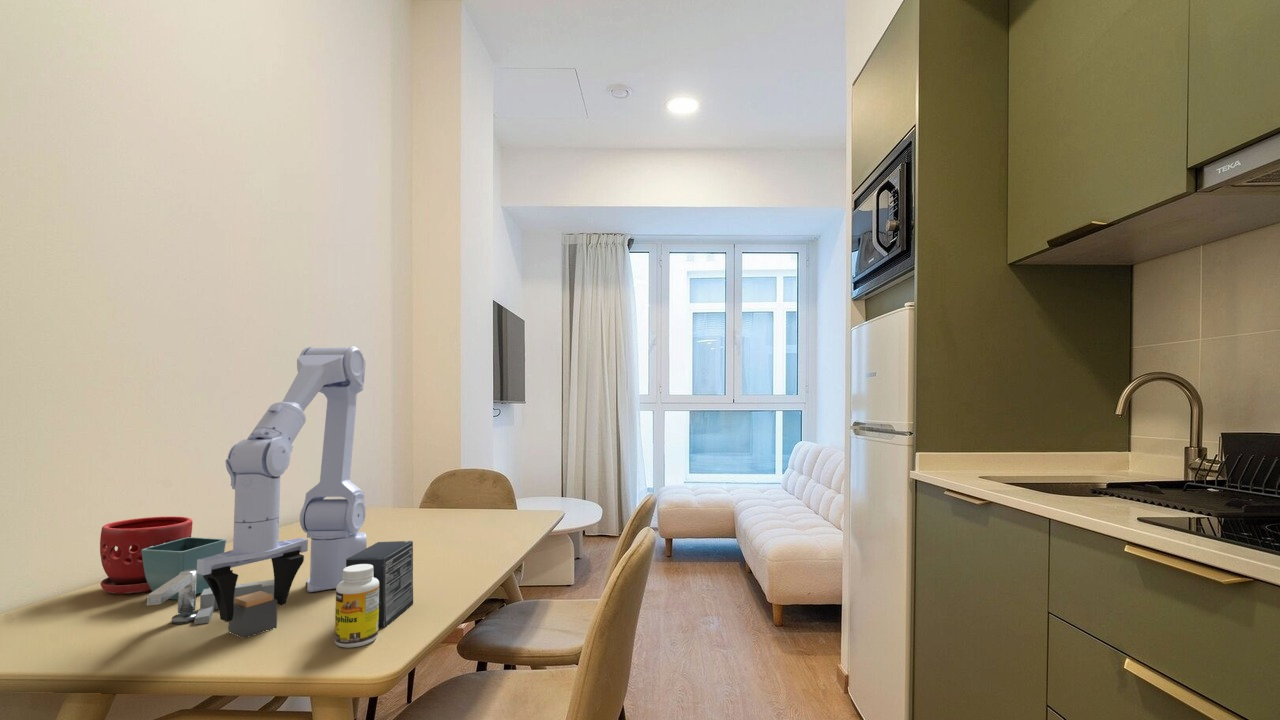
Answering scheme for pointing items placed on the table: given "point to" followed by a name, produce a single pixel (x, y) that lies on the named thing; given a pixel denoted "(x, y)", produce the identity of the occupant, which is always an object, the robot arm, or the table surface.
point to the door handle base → (184, 617)
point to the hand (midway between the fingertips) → (254, 611)
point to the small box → (390, 576)
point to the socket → (210, 603)
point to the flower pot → (178, 560)
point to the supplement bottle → (357, 607)
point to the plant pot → (135, 549)
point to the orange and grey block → (253, 614)
